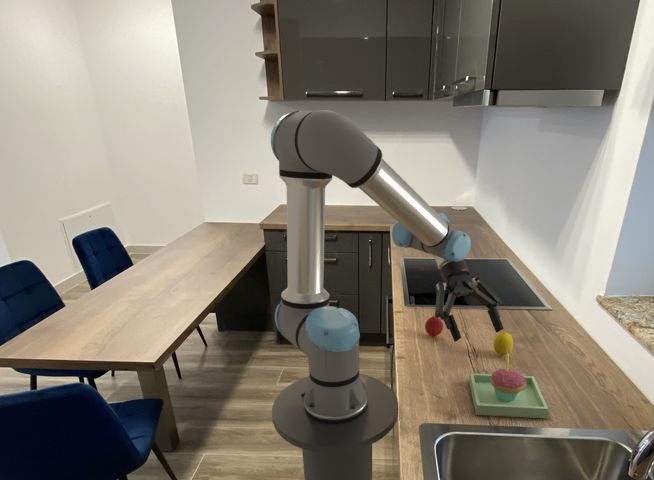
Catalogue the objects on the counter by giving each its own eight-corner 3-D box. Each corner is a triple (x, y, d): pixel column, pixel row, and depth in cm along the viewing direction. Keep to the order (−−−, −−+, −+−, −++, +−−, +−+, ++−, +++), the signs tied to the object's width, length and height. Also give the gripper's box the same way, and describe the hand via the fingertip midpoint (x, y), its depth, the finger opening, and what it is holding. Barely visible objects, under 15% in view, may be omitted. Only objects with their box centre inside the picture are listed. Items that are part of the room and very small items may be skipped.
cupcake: (482, 390, 115) (487, 349, 110) (509, 384, 117) (515, 344, 112) (501, 409, 107) (507, 366, 102) (530, 402, 110) (538, 360, 105)
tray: (475, 414, 106) (476, 405, 105) (469, 382, 120) (470, 373, 119) (546, 418, 105) (548, 408, 104) (532, 385, 118) (533, 376, 117)
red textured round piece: (443, 340, 142) (445, 318, 139) (425, 341, 142) (427, 318, 139) (440, 332, 148) (442, 310, 144) (423, 333, 147) (424, 311, 144)
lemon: (493, 359, 131) (496, 335, 128) (491, 351, 136) (494, 327, 133) (512, 360, 130) (516, 336, 127) (509, 352, 135) (512, 328, 132)
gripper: (418, 263, 116) (445, 338, 109) (494, 253, 125) (524, 321, 119) (407, 276, 122) (433, 348, 116) (481, 266, 132) (508, 331, 125)
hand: (479, 335), depth 117 cm, fingers open, 13 cm apart
